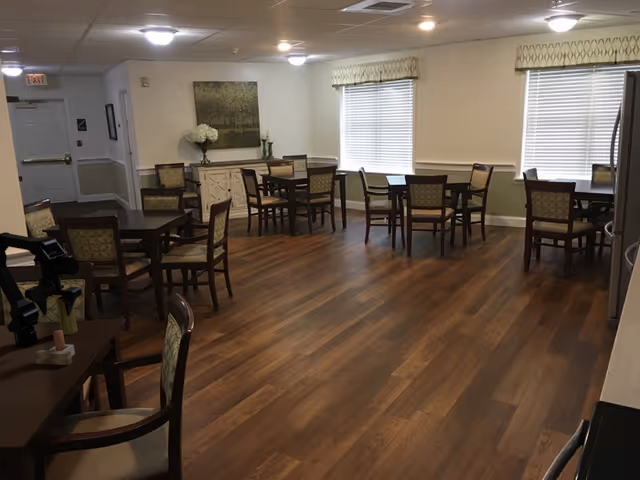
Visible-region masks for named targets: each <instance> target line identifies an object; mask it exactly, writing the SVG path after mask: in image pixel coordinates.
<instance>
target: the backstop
mask: <svg viewBox="0 0 640 480" xmlns="http://www.w3.org/2000/svg"><path fill="white" fill-rule="evenodd" d="M34 357H35V363H36V364H39V365H58V366H70V365H72V363H73V356H72V357H71V351H49V350H43V349H38V350H37V351H35V352H34Z"/></svg>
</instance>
